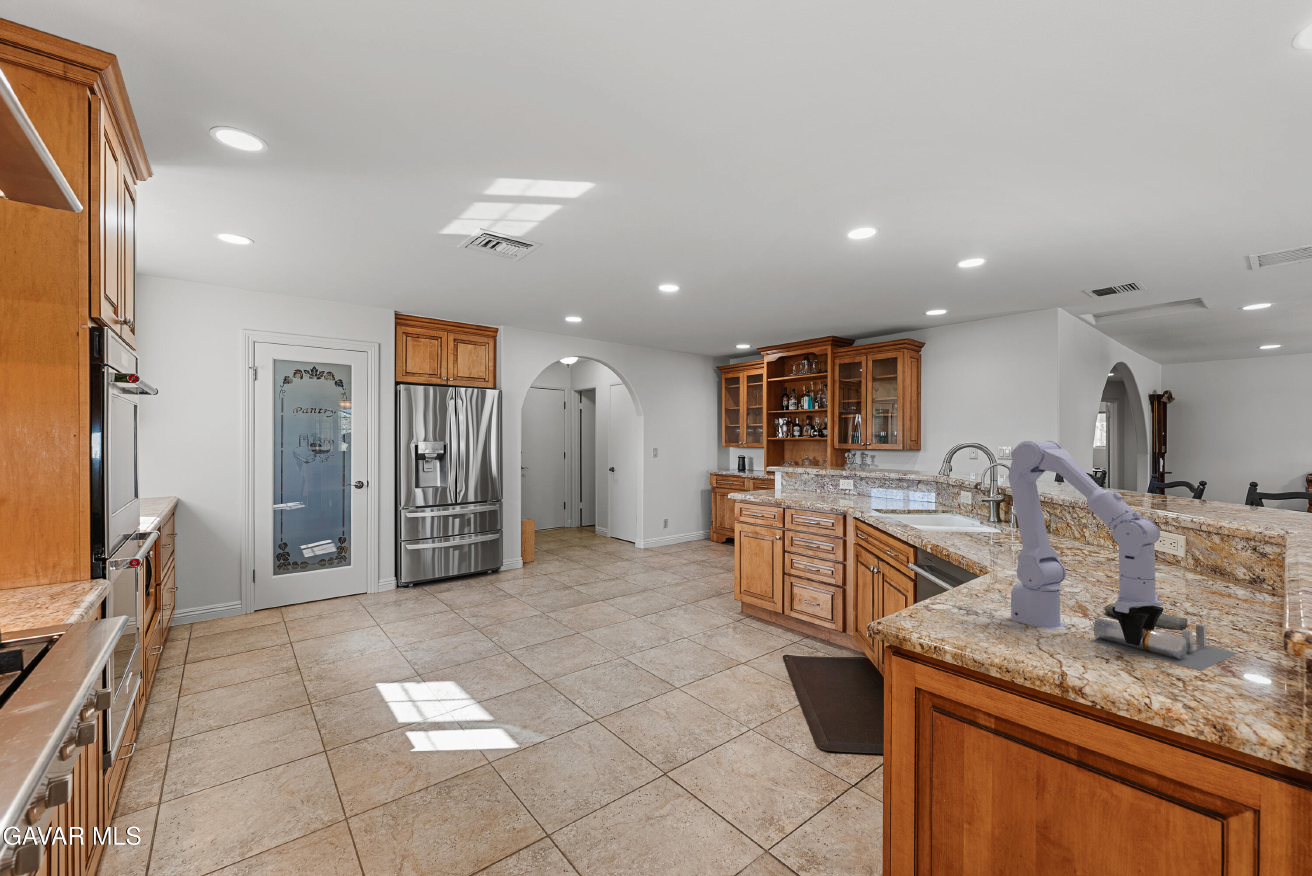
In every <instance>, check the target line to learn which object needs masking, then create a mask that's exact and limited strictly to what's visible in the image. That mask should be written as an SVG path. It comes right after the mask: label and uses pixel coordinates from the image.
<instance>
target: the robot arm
mask: <svg viewBox="0 0 1312 876" xmlns="http://www.w3.org/2000/svg"><path fill="white" fill-rule="evenodd" d="M1010 457H1011V463H1010V466H1009V471H1008V476H1007V477H1008V483H1009V487H1010V492H1011V496H1012V502H1013V506H1014V510H1015V515H1016V520H1017V524H1018V530H1019V533H1020V534H1019V536H1020V540H1021V544H1022V545H1021V546H1022V549H1021V550H1020V551H1019V552H1018V555H1017V568H1016V576H1017V579H1018V580H1019V581H1020V583H1015V584H1014V585H1013V587H1012V589H1011V592H1010V610H1011V611H1010V618H1009V620H1012V621H1016V622H1019V623H1022V624H1026V625H1031V626H1034V627H1038V628H1042V629H1045V630H1049V631H1053V630H1056V629H1059V628H1063V627H1066V626H1069V623H1066V622H1065V623H1064V622H1061V583H1062V582H1064V580H1065V579H1066V577H1067V570H1066V567H1065V566H1064V564H1063V563H1062V562H1061V560H1060V558H1059V553H1058V552H1057V551H1056V550H1055V548H1053V547H1052V546H1051V545H1050V541H1049V536H1048V531H1047V527H1046V522H1045V518H1044V513H1043V509H1042V503H1041V499H1040V494H1039V491H1038V487H1037V486H1038V484H1037V481H1038V479H1040V477H1041V476H1042V475H1043V474H1045V472H1047V471H1048V472H1050V473H1057V474H1058V475H1060V476H1061V477H1062V478H1063V480H1065V481H1066V482H1068V483H1069V484H1070V485H1071V486H1072V487H1073V488H1075V489H1076V490H1077V491H1078V492H1079V493H1080V494H1081V495H1083V497H1085V498H1086V506H1087V508H1088V509H1089V510H1090V511H1091V512H1093V514H1095V515H1096V517H1097V518H1098V519H1100V521H1102V522H1103V523H1104V524H1105V525H1106V526H1107V527H1108V528H1109V529H1110V530H1111V531H1112V532H1111V536H1112V538H1113V540H1114V542H1116V544H1117V546H1118V566H1119V567H1118V575H1119V576H1118V582H1119V585H1118V586H1119V589H1118V590H1119V594H1118V596H1117V600H1115V601H1114V604H1115V607H1112V612H1113V613H1114V615H1115V616H1114V615H1113V616H1114V617H1116V619H1117V622H1119V623H1120V626H1121V628H1122V631H1123V635H1124V638H1125V641H1126V643H1129V644H1133V645H1137V646H1139V645H1140V642H1141V638H1142V630H1143V628H1146V629H1150V630H1155V627H1156V626H1155V625H1156V622H1157V620H1158V618H1159V616H1160V615H1161V614H1162V613H1163V612H1164V607H1163V606H1164V601H1162V600H1160V595H1159V593H1157V592H1156V590H1157V589H1156V556H1155V554H1156V553H1155V544H1156V543H1157V542H1158V541H1159V539H1160V537H1161V531H1160V529H1159V527H1158V526H1157V524H1156V523H1155V521H1154V520H1152V519H1150V518H1147V517H1142V513H1140V511H1135V510H1134V509H1133V508H1132V507H1131V506H1129V504H1128V503H1126V502H1125V500H1123V497H1124V496H1123V495H1122V494H1121V493H1120V492H1115V491H1113V490H1112V489H1103V488H1101V486H1099V485H1098V483H1097V482H1095V481H1094V479H1093V478H1092V477H1090V475H1089V474H1087V472H1086V471H1085V470H1084V469H1083V468H1082V467H1081V466H1080V465H1079V464H1078V463H1077V462H1076V461H1075V460H1074V459H1073V458H1072V457H1071V454H1070V453H1069V451H1067V450H1066V449H1065V448H1062V446H1061V445H1060V444H1059V443H1057V442H1056V441H1053V440H1044V441H1033V440H1032V441H1031V440H1024V441H1021V442H1020V443H1019V444H1017V445H1016V447H1014V448H1013V450H1012V451H1011V452H1010Z"/></svg>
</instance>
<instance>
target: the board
mask: <svg viewBox="0 0 1312 876" xmlns="http://www.w3.org/2000/svg"><path fill="white" fill-rule="evenodd" d="M1089 642H1091V643H1093V644H1098V645H1101V646H1105V647H1108V648H1109V647H1110V648H1114V649H1115V650H1116V649H1117V650H1120V651H1125V652H1128V653H1132V654H1136V655H1139V656H1143V657H1147V658H1151V659H1154V660H1159V661H1162V662H1166V663H1169V664H1173V665H1177V666H1181V667H1183V668H1184V667H1185V668H1189V669H1193V670H1196V671H1200V672H1202V671H1204V670H1207V669H1208V668H1211V667H1212V666H1214V665H1216V664H1219V663H1221V662H1224V661H1225V660H1227V659H1229V658H1231V657H1233V656H1235V655H1237V654H1238V652H1235V651H1232V650H1231V651H1230V650H1226V649H1222V648H1218V647H1212V646H1209V645H1206V646H1207V647H1206V648H1203V649H1201V650H1199V651H1197V652H1194V653H1192V654H1188V653H1186V655H1185V657H1184V659H1182V660H1181V659H1177V658H1173V657H1169V656H1165V655H1161V654H1157V653H1153V652H1149V651H1145V650H1142V649H1138V648H1134V647H1130V646H1126V645H1122V644H1118V643H1114V642H1110V641H1106V640H1102V639H1098V638H1095V639H1093V640H1089ZM1195 644H1196V643H1195V642H1193V645H1195Z"/></svg>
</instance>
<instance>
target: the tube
mask: <svg viewBox="0 0 1312 876" xmlns="http://www.w3.org/2000/svg"><path fill="white" fill-rule="evenodd" d="M1093 634H1094V637H1095V639H1102V640H1106V641H1110V642H1114V643H1118V644H1122V645H1126V646H1130V647H1134V648H1138V649H1142V650H1145V651H1149V652H1153V653H1157V654H1161V655H1165V656H1169V657H1173V658H1177V659H1181V660H1182V659H1184V657H1185V655H1186V652H1187V642H1186V639H1185V638H1184V637H1182V635H1181V636H1180V635H1176V634H1172V633H1167V632H1162V631H1159V630H1155V629H1154V630H1150V629H1146V628H1143V630H1142V638H1141V642H1140V645H1139V646H1137V645H1133V644H1129V643H1126V641H1125V638H1124V635H1123V631H1122V628H1121V626H1120V623H1119V621H1114V620H1111V619H1106V618H1101V617H1097V618H1096V620H1095V621H1094V624H1093Z"/></svg>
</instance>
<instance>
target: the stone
mask: <svg viewBox="0 0 1312 876" xmlns="http://www.w3.org/2000/svg"><path fill="white" fill-rule="evenodd" d="M1112 607H1115V603H1111V604H1107V605H1106V606H1104V607H1103V609H1104V612H1106V613H1108V614H1110V615H1112V616H1114V617H1116V616H1115V615H1114V613H1113V612H1112ZM1187 625H1188V617H1181V616H1177V615H1172V614H1167V613H1163V612H1162V614H1161V615H1160V616H1159V618H1158V620H1157V622H1156V625H1155V627H1157V628H1162V629H1168V630H1172V631H1181V632H1182V630H1184V629H1186V628H1187Z"/></svg>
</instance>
